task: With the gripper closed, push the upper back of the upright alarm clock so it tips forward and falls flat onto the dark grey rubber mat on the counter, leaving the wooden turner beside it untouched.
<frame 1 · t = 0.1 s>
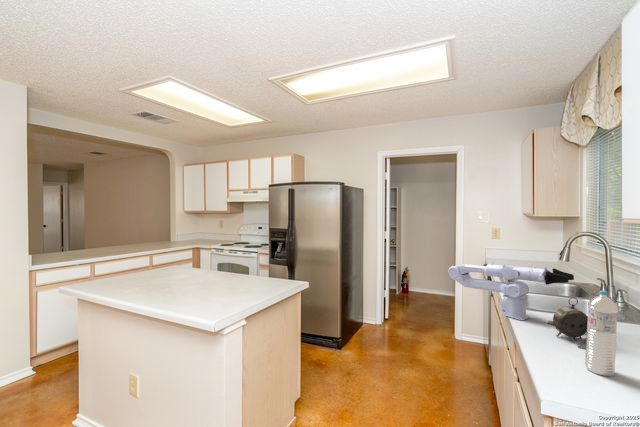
hand: (570, 278, 126), 22 cm above the worktop, tool horizontal, fingers open, 7 cm apart
water bottle: (599, 371, 95), on the worktop
mat: (596, 346, 113), on the worktop
turner: (570, 328, 128), on the worktop
alarm clock: (571, 339, 118), on the worktop
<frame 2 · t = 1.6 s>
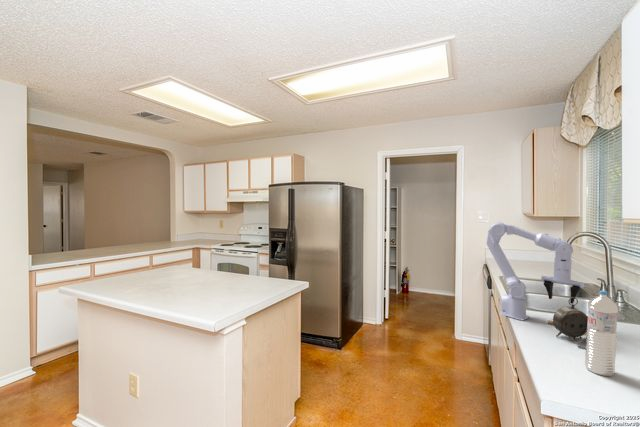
hand: (561, 300, 132), 10 cm above the worktop, tool pointing down, fingers open, 7 cm apart
nothing on the worktop moved.
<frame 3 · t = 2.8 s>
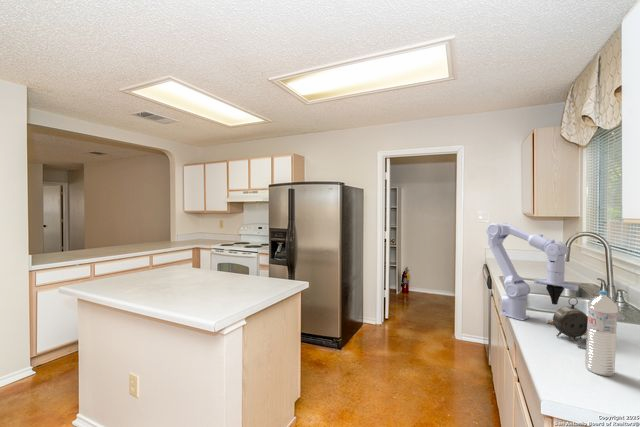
hand: (554, 303, 128), 10 cm above the worktop, tool pointing down, fingers closed
nothing on the worktop moved.
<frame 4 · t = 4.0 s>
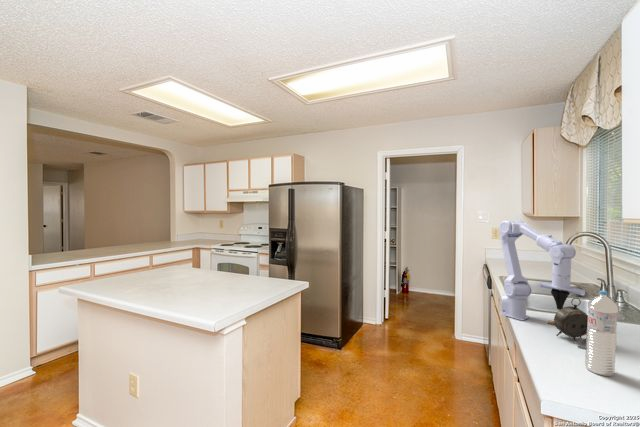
hand: (559, 309, 121), 10 cm above the worktop, tool pointing down, fingers closed
alarm clock: (571, 339, 118), on the worktop, touching gripper
everything else where it was.
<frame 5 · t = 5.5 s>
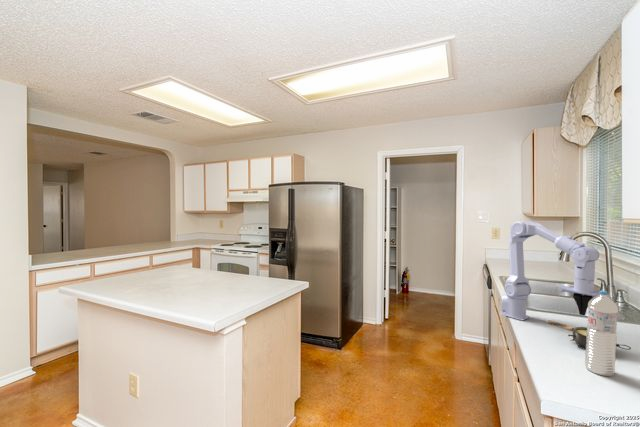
hand: (582, 314, 116), 10 cm above the worktop, tool pointing down, fingers closed
alarm clock: (569, 334, 116), point 3 cm above the worktop, touching mat
everything else where it was.
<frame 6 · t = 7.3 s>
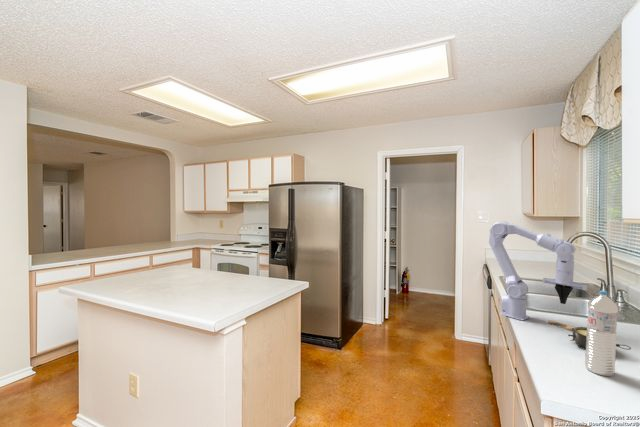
hand: (563, 303, 129), 10 cm above the worktop, tool pointing down, fingers closed
nothing on the worktop moved.
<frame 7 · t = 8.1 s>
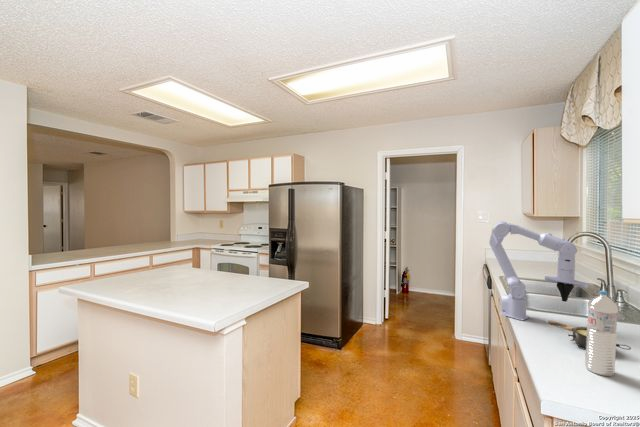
hand: (564, 300, 132), 10 cm above the worktop, tool pointing down, fingers closed
nothing on the worktop moved.
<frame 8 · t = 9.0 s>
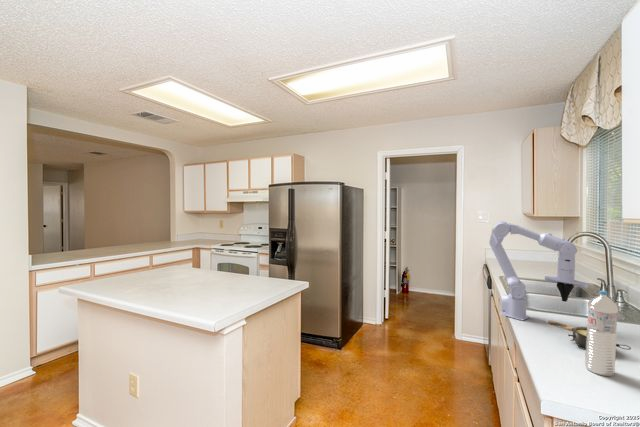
hand: (564, 300, 132), 10 cm above the worktop, tool pointing down, fingers closed
nothing on the worktop moved.
at the end: alarm clock tilted 88°; alarm clock inside the target area (6.9 cm from its centre), point 2.8 cm above the worktop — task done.
